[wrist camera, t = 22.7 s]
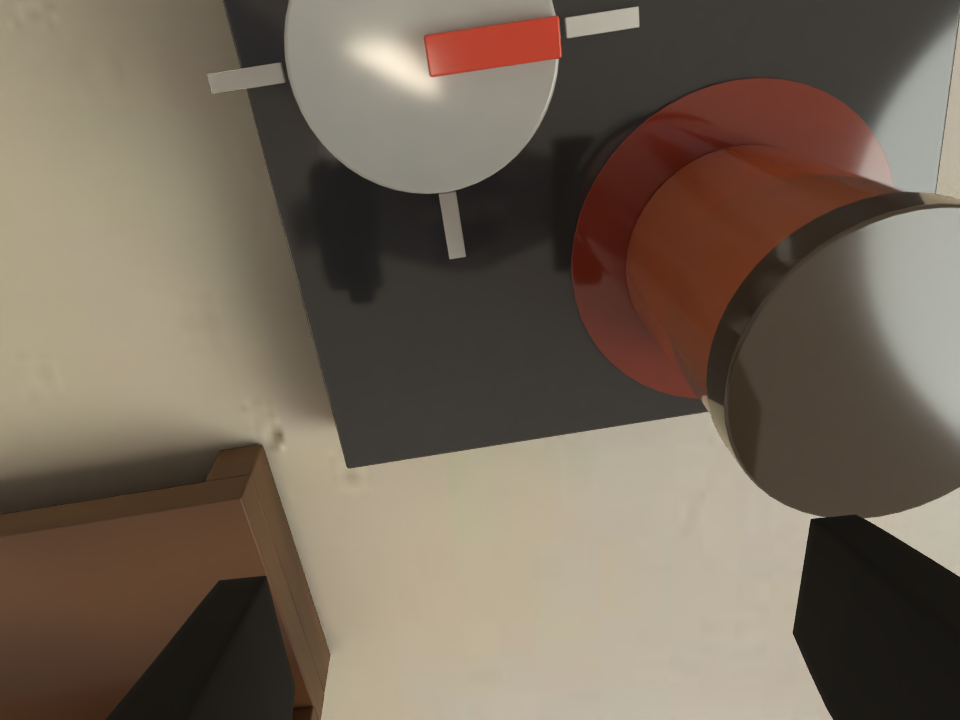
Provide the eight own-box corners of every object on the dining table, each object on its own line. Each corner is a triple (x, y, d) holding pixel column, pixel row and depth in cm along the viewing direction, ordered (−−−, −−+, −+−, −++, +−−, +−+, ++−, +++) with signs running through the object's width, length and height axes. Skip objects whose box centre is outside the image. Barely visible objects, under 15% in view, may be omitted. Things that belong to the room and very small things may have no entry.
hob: (175, -152, 14) (133, -182, 12) (929, -269, 14) (1014, -320, 12) (332, 431, 19) (322, 477, 17) (865, 347, 19) (915, 383, 17)
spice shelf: (-214, 518, 19) (-387, 650, 15) (263, 442, 19) (218, 554, 15) (-73, 718, 22) (-183, 870, 18) (331, 654, 22) (310, 792, 18)
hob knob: (342, 172, 14) (315, 217, 11) (294, -56, 13) (244, -88, 9) (538, 143, 14) (574, 178, 11) (517, -88, 13) (551, -132, 9)
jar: (574, 282, 16) (653, 417, 10) (735, 86, 14) (929, 122, 9) (731, 397, 17) (873, 568, 12) (891, 231, 16) (1140, 340, 10)
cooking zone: (555, 107, 14) (556, 107, 14) (913, 51, 14) (916, 51, 14) (583, 418, 17) (584, 420, 17) (876, 371, 17) (879, 373, 17)
